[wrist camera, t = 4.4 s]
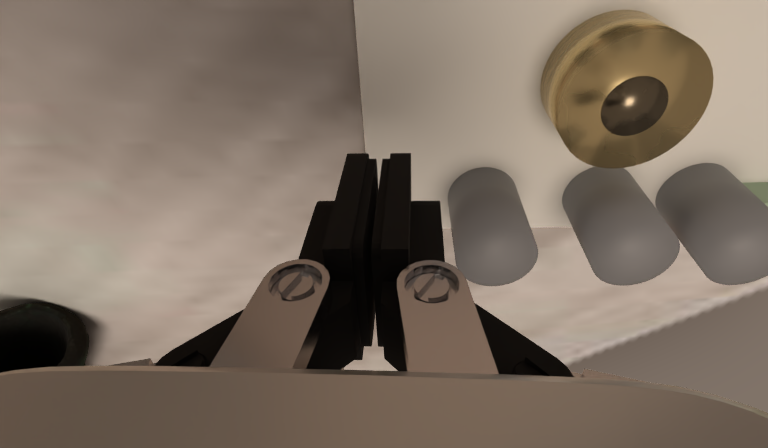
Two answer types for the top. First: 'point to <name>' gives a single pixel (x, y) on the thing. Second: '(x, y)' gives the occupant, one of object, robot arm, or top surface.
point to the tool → (41, 337)
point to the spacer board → (546, 148)
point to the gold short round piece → (625, 88)
